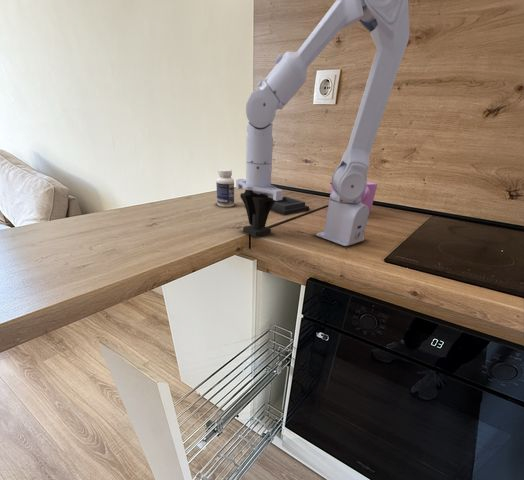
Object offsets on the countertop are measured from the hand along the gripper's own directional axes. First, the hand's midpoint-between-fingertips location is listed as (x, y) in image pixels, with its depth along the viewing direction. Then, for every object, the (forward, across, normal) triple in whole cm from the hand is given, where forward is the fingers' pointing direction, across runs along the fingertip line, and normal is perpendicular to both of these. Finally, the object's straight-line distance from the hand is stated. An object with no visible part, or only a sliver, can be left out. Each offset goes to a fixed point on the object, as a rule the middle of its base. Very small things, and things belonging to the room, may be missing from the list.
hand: (257, 225), depth 76 cm
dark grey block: (+2, 0, 0) cm, 2 cm away
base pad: (+2, -14, +23) cm, 27 cm away
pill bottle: (+2, -26, +9) cm, 28 cm away
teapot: (+2, 0, +37) cm, 37 cm away
